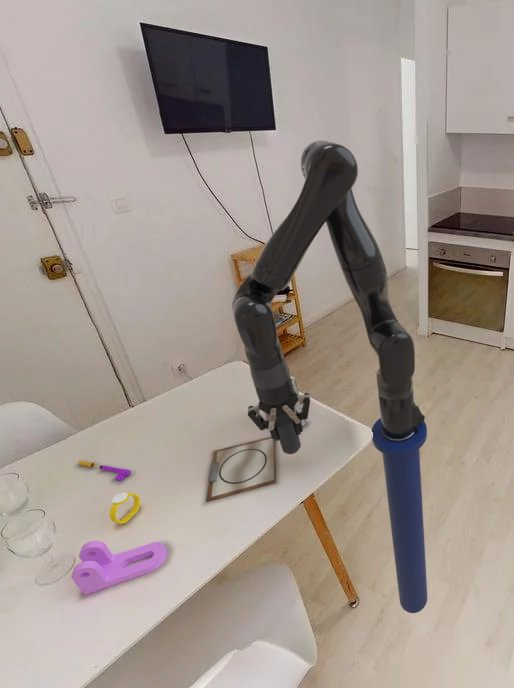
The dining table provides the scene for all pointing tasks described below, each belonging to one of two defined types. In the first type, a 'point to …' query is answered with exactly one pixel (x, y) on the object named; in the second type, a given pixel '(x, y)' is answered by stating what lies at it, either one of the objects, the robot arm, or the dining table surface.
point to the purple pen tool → (108, 469)
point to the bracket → (114, 565)
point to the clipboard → (242, 468)
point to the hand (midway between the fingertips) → (288, 435)
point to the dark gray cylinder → (287, 434)
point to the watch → (120, 500)
